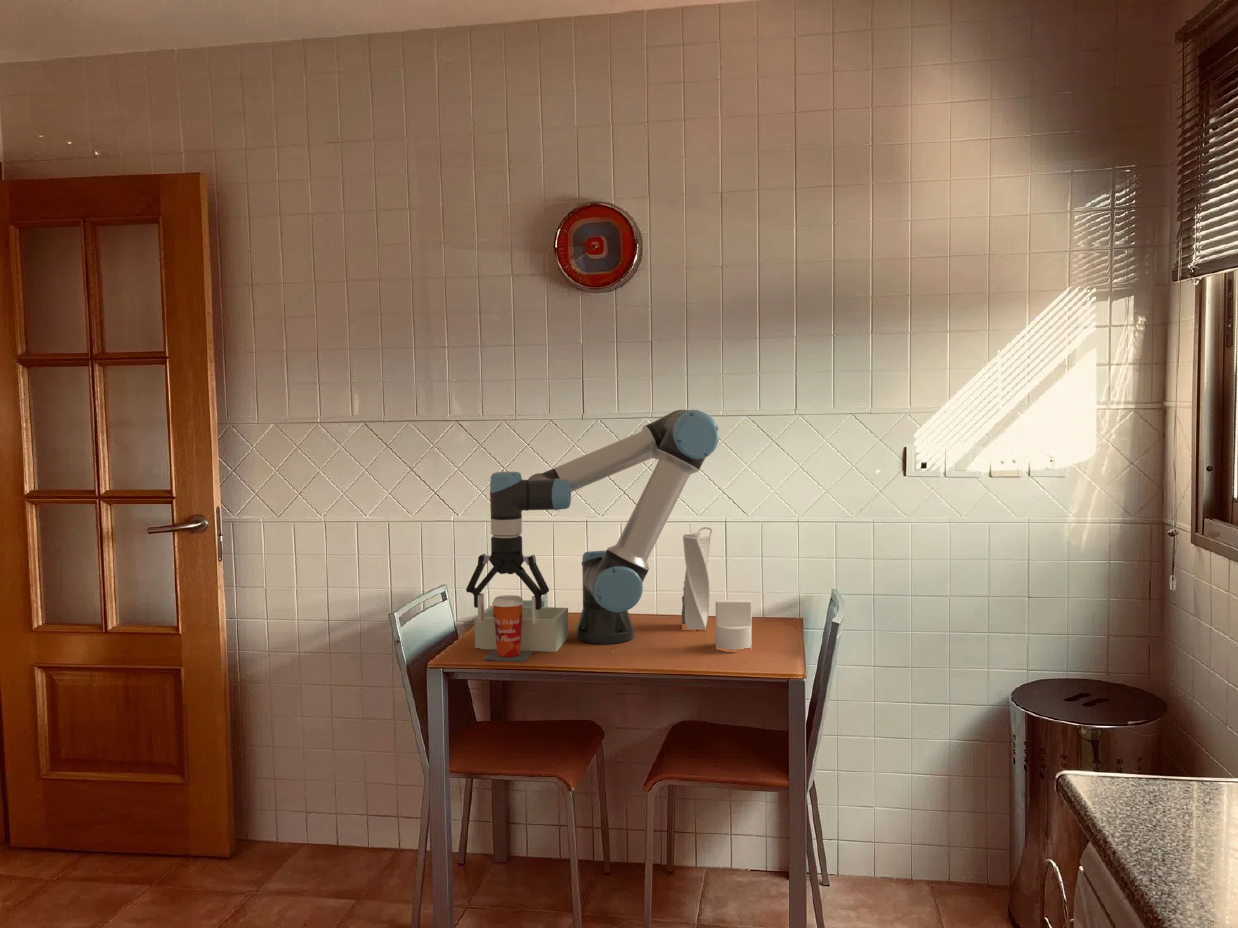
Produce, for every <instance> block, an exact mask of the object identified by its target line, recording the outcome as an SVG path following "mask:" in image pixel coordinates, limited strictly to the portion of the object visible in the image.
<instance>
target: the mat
mask: <svg viewBox="0 0 1238 928" xmlns="http://www.w3.org/2000/svg"><path fill="white" fill-rule="evenodd" d="M533 652H534V651H524V650H520V655H519V656H516V657H500V656H498V654H497V649H494V650H493V649H491V651H490V652H489V653H488V654H487V655H486V656H485V657H483V661H484V660H493V661H492V662H508V663H509V662H510V663H511V662H512V663H514V662H515V663H525V662H526V661H527V660H528V659H529V658H530V656H532V654H533ZM494 660H495V661H494Z"/></svg>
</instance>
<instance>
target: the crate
mask: <svg viewBox="0 0 1238 928" xmlns="http://www.w3.org/2000/svg"><path fill="white" fill-rule="evenodd" d="M567 638H568V639H569V607H554V606H553V607H552V606H549V607H541V609H540V610H538V622H537V623H536V624H532V607H523V606H522V629H521V650H524V651H533V652H551V653H556V652H558V650H559V649H560V648H561V647H562V645H564V643H565V642H566V641H567V640H568V639H567ZM475 648H480V649H479V650H493V649H497V645H496V632H495V621H494V606H493V605H490V606H489V607H487V608H486V609H484V620H483V621H482V622H478V614H477V615H476V616H475V617H474V649H475Z"/></svg>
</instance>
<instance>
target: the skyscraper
mask: <svg viewBox="0 0 1238 928" xmlns="http://www.w3.org/2000/svg"><path fill="white" fill-rule="evenodd" d="M703 530H709V531H710V532H709V535H708V536H707V535H703V533H702V532H701V531H703ZM712 532H713V529H712V528H710V527H707V526H706V527H702V528H700V529H698V531H697V532H691V534H687V533H686V534H683V536H682V541H683V552H684V561H685V562H684V563H685V568H686V569H685V573H684V574H685V575H684V581H683V587H682V589H683V591H682V592H683V595H682V596H681V600H682V601H681V602H682V606H681V607H682V608H681V618H682V619H681V624H686V629H706V625H707V626H708V619H709V611H710V610H709V609H710V582H709V581H710V579H709V574H708V573H709V572H708V569H707V566H708V560H709V553H710V544H711V536H712Z"/></svg>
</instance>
